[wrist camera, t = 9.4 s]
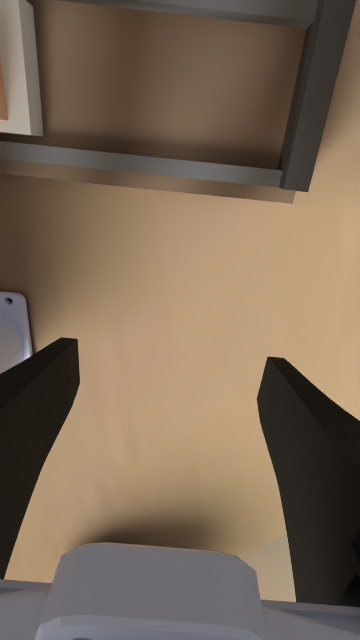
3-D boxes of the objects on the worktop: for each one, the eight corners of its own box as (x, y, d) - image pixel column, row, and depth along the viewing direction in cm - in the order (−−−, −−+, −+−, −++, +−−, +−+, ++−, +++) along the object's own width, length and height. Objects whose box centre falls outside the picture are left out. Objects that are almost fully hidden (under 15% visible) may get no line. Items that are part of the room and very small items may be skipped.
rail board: (-59, 165, 19) (-106, 167, 16) (-104, -53, 15) (-179, -106, 12) (285, 199, 20) (303, 209, 17) (330, -2, 16) (365, -40, 13)
